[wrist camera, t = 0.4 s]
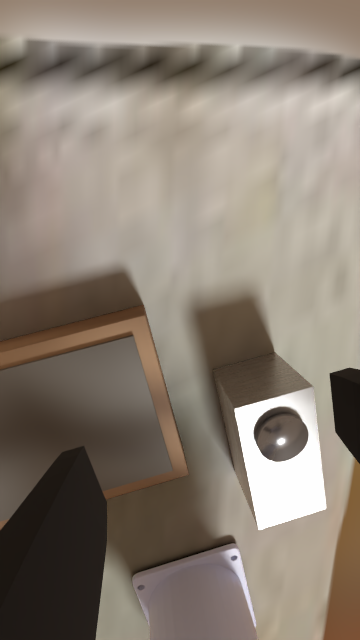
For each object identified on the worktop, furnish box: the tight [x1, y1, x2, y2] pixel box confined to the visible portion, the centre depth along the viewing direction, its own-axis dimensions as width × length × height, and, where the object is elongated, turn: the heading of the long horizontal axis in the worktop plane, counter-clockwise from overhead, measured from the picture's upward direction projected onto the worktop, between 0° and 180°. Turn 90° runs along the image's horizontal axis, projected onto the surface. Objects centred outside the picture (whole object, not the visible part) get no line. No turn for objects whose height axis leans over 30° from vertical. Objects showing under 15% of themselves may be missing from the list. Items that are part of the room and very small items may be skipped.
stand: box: [0, 305, 189, 530], centre depth 17 cm, size 10×12×2 cm
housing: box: [213, 353, 326, 530], centre depth 18 cm, size 8×4×5 cm, turn 13°
